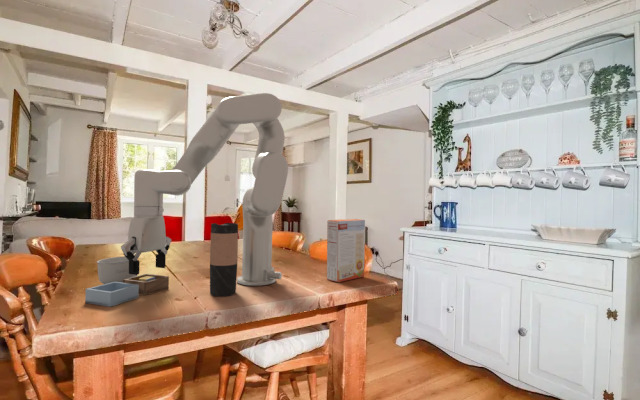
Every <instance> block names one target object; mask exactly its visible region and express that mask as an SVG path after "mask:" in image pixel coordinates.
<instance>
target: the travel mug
mask: <svg viewBox="0 0 640 400" xmlns="http://www.w3.org/2000/svg"><path fill="white" fill-rule="evenodd" d="M210 225H211V226H210V247H209V249H210V250H209V294H210V295H211V296H212V297H219V298H220V297H230V296H234V295H235V294H236V291H237V278H238V256H239V255H238V246H239V245H238V244H239V243H238V241H239V224H238V223H235V222H225V223H223V224H218V223H216V222H214V223H210Z"/></svg>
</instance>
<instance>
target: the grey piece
mask: <svg viewBox="0 0 640 400" xmlns="http://www.w3.org/2000/svg"><path fill="white" fill-rule="evenodd" d="M96 263H97V276H98V280H99V282H100V283H101V284H102V285H103V284H107V283H111V282H122V283H123V279H127V278H131V277H135V276H138V275H133V274H129V260H127V258H126V257H125V256H124V255H123V256H114V257H107V258H103V259H99V260H97V261H96Z"/></svg>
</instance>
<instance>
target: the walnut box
mask: <svg viewBox="0 0 640 400" xmlns="http://www.w3.org/2000/svg"><path fill="white" fill-rule="evenodd" d="M145 276H150V277H155V280H151V281H148V282H144V281H139V278H142V277H145ZM169 279H170V276H169V275H161V274H155V273H154V274H153V273H144V274H140V275H139V274H138V275H137V276H135V277H131V278H127V279H123V283H129V284H137V285H139V293H138V295H141V296H148V295H151V294H154V293H158V292H161V291H163V290H166V289H169V288H170V287H169V284H170V283H169V281H170V280H169Z"/></svg>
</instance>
